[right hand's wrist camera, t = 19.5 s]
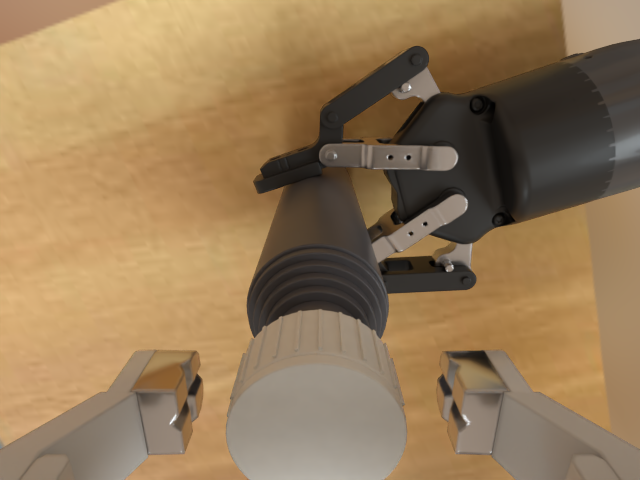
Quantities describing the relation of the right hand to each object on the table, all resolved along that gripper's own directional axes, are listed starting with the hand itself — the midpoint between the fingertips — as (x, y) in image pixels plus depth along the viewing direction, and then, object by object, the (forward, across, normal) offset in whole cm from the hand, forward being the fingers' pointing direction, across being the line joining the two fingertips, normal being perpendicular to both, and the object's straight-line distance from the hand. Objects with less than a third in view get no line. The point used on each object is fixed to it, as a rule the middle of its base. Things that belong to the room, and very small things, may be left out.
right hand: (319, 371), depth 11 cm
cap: (-2, 0, 0) cm, 2 cm away
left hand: (+14, -3, -1) cm, 14 cm away
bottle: (+20, 0, 0) cm, 20 cm away
